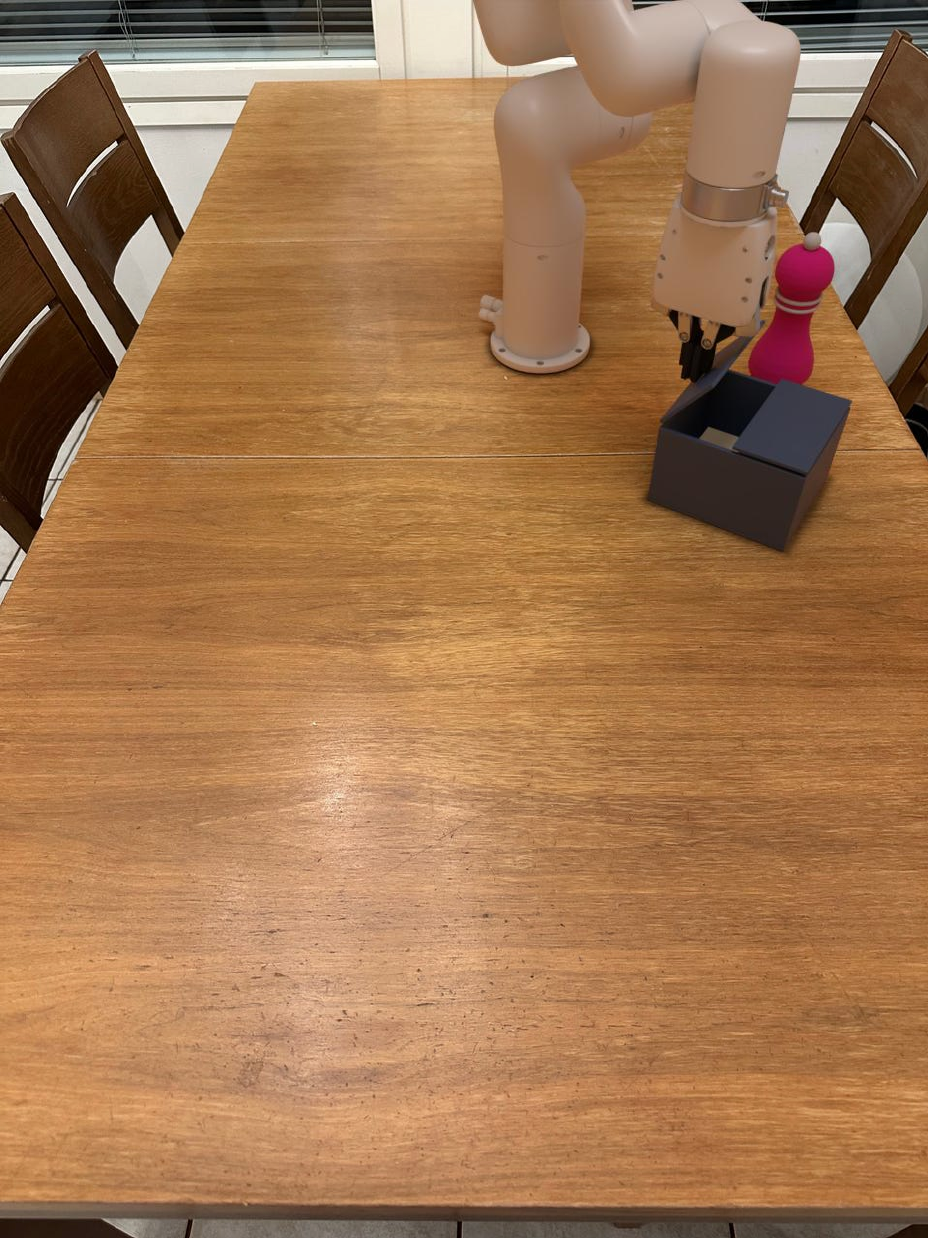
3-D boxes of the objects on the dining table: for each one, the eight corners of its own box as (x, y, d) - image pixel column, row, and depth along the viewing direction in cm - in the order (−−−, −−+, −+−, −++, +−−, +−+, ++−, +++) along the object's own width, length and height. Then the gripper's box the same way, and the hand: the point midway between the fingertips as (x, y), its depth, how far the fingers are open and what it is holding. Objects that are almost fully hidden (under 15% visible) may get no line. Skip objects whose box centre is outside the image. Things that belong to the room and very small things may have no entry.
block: (685, 481, 102) (691, 448, 99) (701, 458, 104) (708, 426, 101) (723, 495, 100) (731, 462, 97) (739, 472, 103) (747, 439, 99)
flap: (661, 423, 93) (658, 420, 93) (714, 359, 100) (711, 356, 100) (713, 387, 87) (711, 384, 87) (766, 322, 94) (763, 319, 94)
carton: (647, 500, 101) (659, 421, 93) (697, 435, 108) (712, 356, 100) (782, 551, 95) (807, 472, 87) (826, 479, 102) (853, 400, 94)
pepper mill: (804, 416, 110) (853, 252, 95) (740, 410, 111) (778, 247, 96) (802, 381, 114) (848, 219, 99) (741, 375, 115) (777, 214, 100)
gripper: (826, 193, 80) (779, 377, 94) (665, 157, 86) (643, 335, 100) (794, 229, 76) (750, 416, 90) (628, 189, 82) (610, 370, 96)
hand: (694, 373), depth 95 cm, fingers closed
